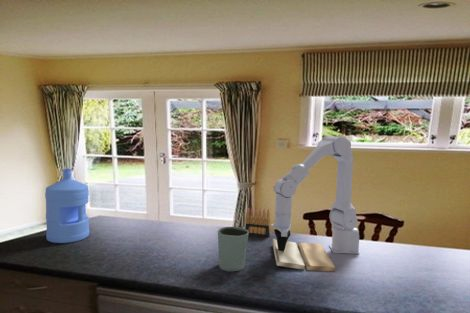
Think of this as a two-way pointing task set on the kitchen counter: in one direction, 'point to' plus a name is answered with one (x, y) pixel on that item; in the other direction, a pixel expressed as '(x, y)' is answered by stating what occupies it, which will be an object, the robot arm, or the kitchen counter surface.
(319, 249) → the laid plank
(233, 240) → the green cup
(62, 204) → the water jug
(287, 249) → the plank
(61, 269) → the kitchen counter surface
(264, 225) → the ammunition clip
